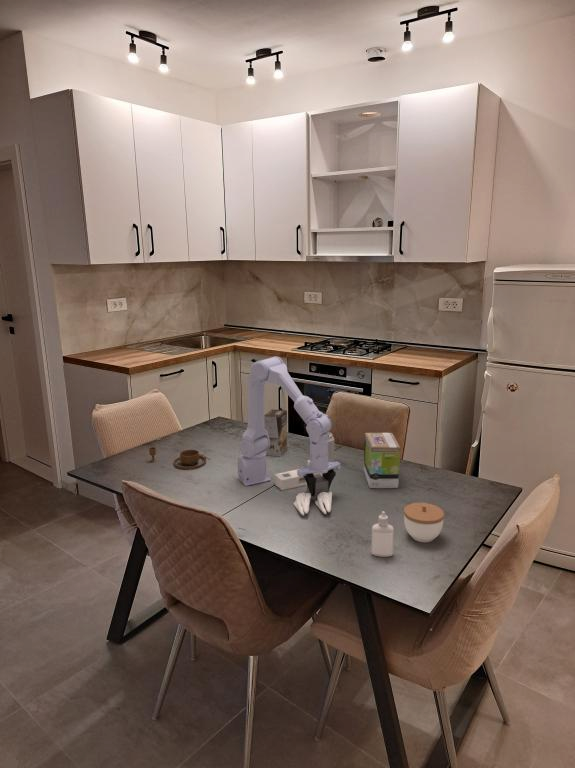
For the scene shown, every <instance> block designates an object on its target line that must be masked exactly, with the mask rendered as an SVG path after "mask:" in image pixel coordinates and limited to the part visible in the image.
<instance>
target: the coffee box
mask: <svg viewBox="0 0 575 768" xmlns="http://www.w3.org/2000/svg"><path fill="white" fill-rule="evenodd" d="M264 429H266V430H267V431H268V437H269V439H270V447H269V449H267V453H266V456H269V457H270V456H271V457H281V456H282V455H283V454H284V453H285V452H286V451H287V450H288V410H287V409H286V410H285V409H274V408H273V409H271V410H270V411H268V412H267V413H265V414H264Z"/></svg>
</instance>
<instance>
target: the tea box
mask: <svg viewBox="0 0 575 768" xmlns="http://www.w3.org/2000/svg"><path fill="white" fill-rule="evenodd" d="M400 460H401V445H400V444H399V442H398V441H397V439H396V437H395V436H394V433H393V432H365V433H364V449H363V473H364V475H365V478H366V482H367V485H368V488H370V489H398V488H399V483H400V482H399V479H400V464H401V463H400V462H401V461H400Z"/></svg>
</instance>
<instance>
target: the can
mask: <svg viewBox="0 0 575 768" xmlns="http://www.w3.org/2000/svg"><path fill="white" fill-rule="evenodd" d="M326 433H327V432H326ZM328 462H335V437H334V436H333V433H332V432H330V431H328Z"/></svg>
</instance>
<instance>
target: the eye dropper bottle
mask: <svg viewBox="0 0 575 768" xmlns="http://www.w3.org/2000/svg"><path fill="white" fill-rule="evenodd" d="M377 520H378V521H377V522H378V523H375V524H373V525H372V527H371V546H370V548H371V549H370V551H371V552H370V553H371V555H373V556H375V557H381V558H387V557H392V556H393V555H394V538H395V537H394V535H395V533H394V532H395V529H394V526H393V525H391V524H389V517H388V515H386V512H385V511H381V514H379V515H378V519H377Z"/></svg>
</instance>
